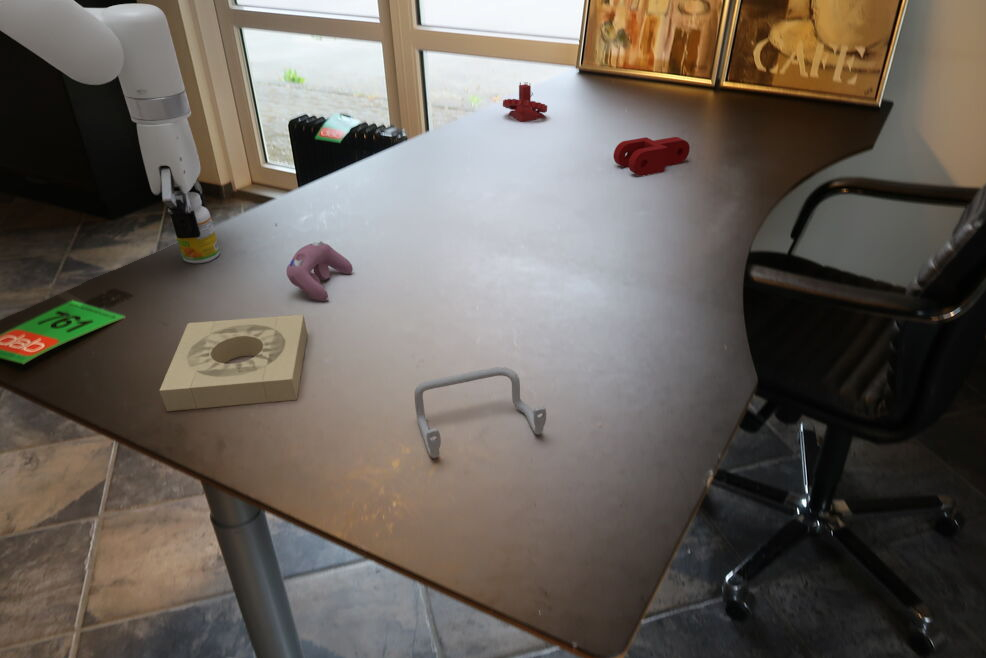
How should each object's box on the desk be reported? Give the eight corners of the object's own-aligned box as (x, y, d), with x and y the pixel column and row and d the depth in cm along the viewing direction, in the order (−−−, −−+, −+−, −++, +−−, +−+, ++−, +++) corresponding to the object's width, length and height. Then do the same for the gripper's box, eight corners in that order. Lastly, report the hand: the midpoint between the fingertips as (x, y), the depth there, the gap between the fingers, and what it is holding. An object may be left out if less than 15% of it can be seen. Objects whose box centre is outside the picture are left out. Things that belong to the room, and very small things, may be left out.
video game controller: (334, 278, 107) (308, 238, 104) (357, 269, 106) (331, 228, 102) (303, 310, 99) (274, 268, 96) (328, 301, 98) (299, 258, 95)
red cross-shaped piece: (552, 112, 176) (553, 77, 172) (541, 126, 167) (542, 89, 162) (511, 108, 178) (511, 74, 173) (497, 122, 169) (497, 86, 164)
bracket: (429, 466, 73) (426, 431, 69) (414, 416, 78) (410, 382, 75) (546, 439, 76) (548, 405, 73) (523, 393, 82) (523, 359, 79)
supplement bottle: (175, 257, 108) (157, 198, 103) (206, 245, 112) (190, 187, 107) (196, 267, 106) (178, 206, 100) (227, 254, 110) (212, 195, 104)
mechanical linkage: (632, 177, 140) (635, 153, 137) (612, 166, 145) (614, 142, 143) (695, 165, 147) (698, 141, 144) (673, 155, 152) (676, 132, 149)
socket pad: (166, 411, 78) (159, 390, 77) (194, 342, 90) (187, 322, 88) (296, 399, 81) (292, 378, 79) (307, 334, 92) (303, 314, 90)
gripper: (146, 90, 102) (180, 207, 113) (109, 125, 88) (152, 255, 99) (201, 88, 103) (229, 204, 114) (173, 123, 90) (208, 252, 100)
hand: (193, 227), depth 106 cm, fingers closed on supplement bottle, 5 cm apart
